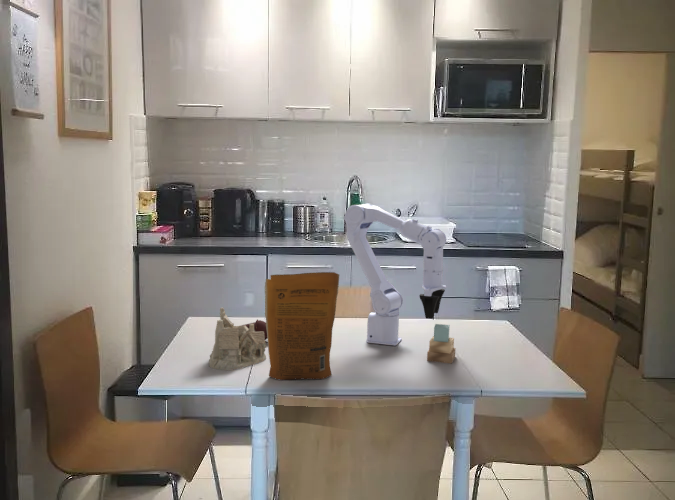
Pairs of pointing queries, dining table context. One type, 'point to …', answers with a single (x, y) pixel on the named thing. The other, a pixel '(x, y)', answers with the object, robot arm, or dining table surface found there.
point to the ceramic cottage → (236, 345)
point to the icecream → (259, 327)
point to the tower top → (441, 346)
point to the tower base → (441, 356)
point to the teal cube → (441, 333)
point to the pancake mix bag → (300, 324)
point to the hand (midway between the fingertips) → (431, 315)
